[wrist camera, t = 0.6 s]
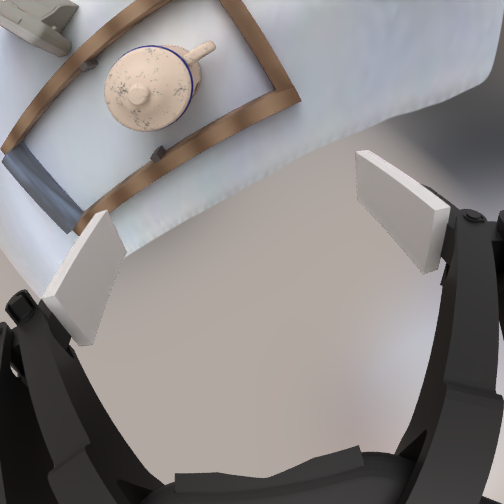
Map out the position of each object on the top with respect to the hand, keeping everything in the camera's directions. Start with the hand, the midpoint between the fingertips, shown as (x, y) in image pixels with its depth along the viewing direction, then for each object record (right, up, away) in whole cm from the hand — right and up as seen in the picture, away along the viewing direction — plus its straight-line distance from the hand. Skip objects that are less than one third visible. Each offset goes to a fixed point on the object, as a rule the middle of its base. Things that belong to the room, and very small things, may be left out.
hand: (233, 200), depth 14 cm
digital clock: (-27, +28, +5) cm, 39 cm away
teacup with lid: (-8, +19, +15) cm, 26 cm away
